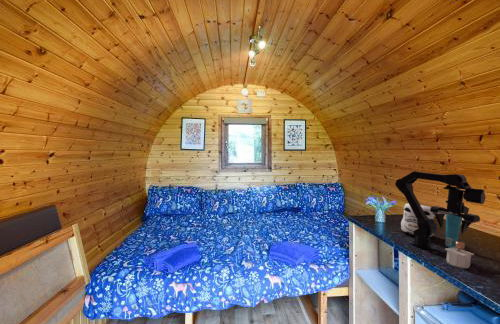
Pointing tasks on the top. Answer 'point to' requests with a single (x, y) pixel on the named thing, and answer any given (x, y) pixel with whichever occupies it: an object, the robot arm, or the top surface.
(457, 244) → the plunger
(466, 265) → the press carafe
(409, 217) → the milk container
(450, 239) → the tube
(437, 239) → the top surface
